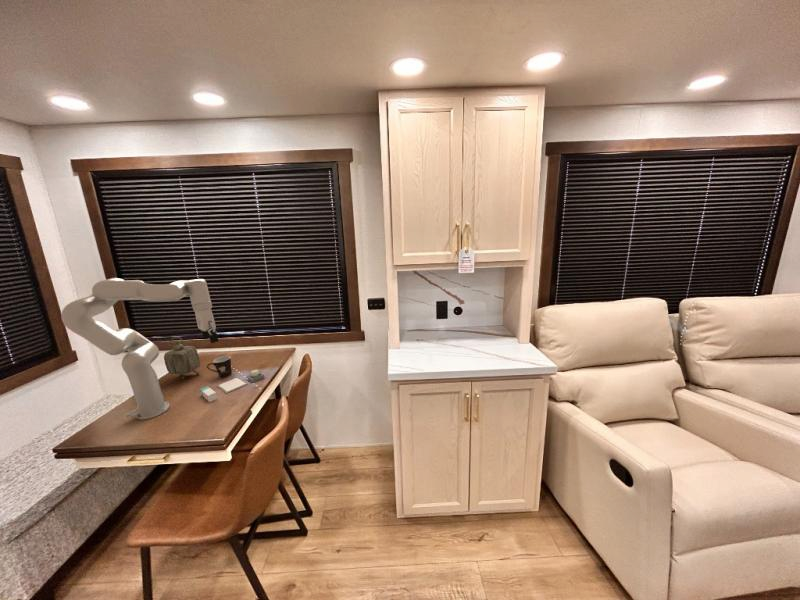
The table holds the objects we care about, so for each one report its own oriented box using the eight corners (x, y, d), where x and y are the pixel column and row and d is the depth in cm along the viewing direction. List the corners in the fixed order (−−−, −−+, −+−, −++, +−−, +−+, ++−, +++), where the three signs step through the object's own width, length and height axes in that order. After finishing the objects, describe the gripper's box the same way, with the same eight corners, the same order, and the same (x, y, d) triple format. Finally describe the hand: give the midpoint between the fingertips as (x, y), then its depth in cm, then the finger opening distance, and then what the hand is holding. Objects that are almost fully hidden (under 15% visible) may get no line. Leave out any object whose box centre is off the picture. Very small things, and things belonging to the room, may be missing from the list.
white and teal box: (209, 402, 149) (208, 395, 148) (201, 395, 156) (200, 389, 155) (217, 398, 151) (215, 392, 150) (209, 392, 158) (207, 386, 157)
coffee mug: (237, 371, 180) (233, 355, 177) (227, 378, 172) (224, 362, 169) (218, 371, 181) (215, 356, 179) (208, 378, 173) (204, 362, 170)
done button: (253, 378, 166) (252, 373, 165) (250, 376, 169) (249, 371, 168) (260, 375, 169) (259, 370, 168) (257, 373, 171) (256, 369, 171)
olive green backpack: (203, 373, 181) (193, 334, 174) (191, 381, 172) (180, 340, 166) (181, 373, 182) (170, 334, 176) (168, 381, 173) (156, 340, 167)
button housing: (252, 382, 165) (252, 379, 164) (247, 379, 169) (246, 376, 168) (264, 377, 169) (263, 374, 169) (259, 374, 174) (258, 371, 173)
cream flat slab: (226, 393, 155) (226, 392, 155) (216, 386, 164) (216, 385, 164) (248, 384, 163) (247, 383, 163) (237, 377, 172) (237, 376, 172)
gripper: (187, 305, 143) (195, 339, 147) (199, 310, 132) (209, 346, 137) (204, 301, 149) (212, 334, 153) (218, 306, 138) (226, 341, 142)
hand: (211, 340), depth 145 cm, fingers open, 9 cm apart
